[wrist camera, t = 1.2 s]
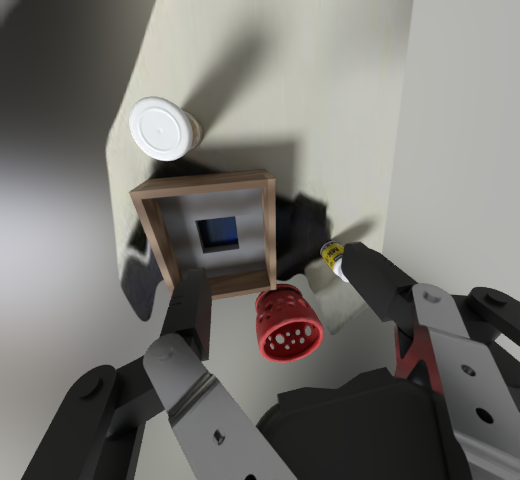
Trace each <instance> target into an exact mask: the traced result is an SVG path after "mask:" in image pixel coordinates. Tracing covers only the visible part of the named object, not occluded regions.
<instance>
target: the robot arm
mask: <svg viewBox="0 0 520 480" xmlns="http://www.w3.org/2000/svg"><path fill="white" fill-rule="evenodd" d="M341 270H342V273H343V275H344V276H345V277H346V278H347V280H348V281H349V282H350V283H351V284H352V286H353V287H354V288H355V289H356V290H357V292H358V293H359V294H360V295H361V296H362V298H363V299H364V300H365V301H366V303H367V304H368V305H369V306H370V307H371V309H372V310H373V311H374V312H375V313H376V315H377V316H378V317H379V318H380V319H381V321H382V322H386V321H391V320H393V321H394V322H395V326H394V336H395V347H396V361H397V365H396V371H395V376H392V375H391V374H390V372H389V371H388V369H387V368H386V367H384V368H380V369H376V370H372V371H368V372H364V373H360V374H359V375H358V376H356V377H355V378H353V379H352V380H350V381H349V382H347V383H346V384H345V385H343V386H342V387H340V388H338V389H324V388H310V387H305V388H300V389H296V390H292V391H288V392H284V393H280V394H277V398H278V403H277V404H275V405H274V406H273V407H271V408H270V409H269V410H268V411H267V412H266V413H265V414H264V415H263V416H262V417H261V419H260V420H259V422H258V423H257V425H256V426H255V425H254V424H253V423H252V421H251V420H250V419H249V418H248V416H247V415H246V414H245V413H244V411H243V410H242V409H241V407H240V406H239V405H238V404H237V403H236V401H235V400H234V399H233V398H232V396H231V395H230V394H229V393H228V391H227V390H226V389H225V387H224V386H223V385H222V384H221V382H220V381H219V380H218V379H217V378H216V376H215V375H213V374H211V373H210V372H209V371H208V370H207V369H206V367H205V366H204V365H203V364H202V362H201V361H205V360H209V359H208V358H209V342H210V324H211V306H212V293H211V288H210V284H209V281H208V277H207V274H206V271H205V268H204V267H202V268H196V269H190V270H189V272H188V276H187V280H183V281H180V282H179V283H178V284H177V286H176V287H175V288H174V290H173V293H172V297H171V300H170V303H169V307H168V310H167V314H166V317H165V320H164V324H163V327H162V331H161V334H160V337H159V338H158V339H157V340H155V341H154V342H153V343H152V344H151V345H150V346H149V348H148V349H147V351H146V353H145V355H143V356H142V357H140V358H138V359H137V360H135V361H133V362H131V363H129V364H127V365H125V366H123V367H121V368H119V369H117V370H115V368H114V367H113V366H111V365H101V366H98V367H96V368H93V369H92V370H90V371H88V372H87V373H85V374H84V375H83V376H81V377H80V378H79V379H78V380H77V381H76V382H75V383H74V384H73V386H72V387H71V388H70V389H69V391H68V392H67V394H66V396H65V398H64V400H63V402H62V403H61V405H60V407H59V409H58V411H57V413H56V415H55V416H54V419H53V420H52V422H51V424H50V426H49V428H48V430H47V432H46V433H45V435H44V437H43V439H42V441H41V443H40V445H39V446H38V448H37V450H36V452H35V454H34V456H33V458H32V460H31V462H30V463H29V465H28V467H27V469H26V471H25V473H24V475H23V477H22V479H21V480H134V476H135V472H136V467H137V462H138V457H139V452H140V447H141V443H142V438H143V433H144V429H145V424H146V421H148V420H149V419H151V418H152V417H154V416H155V415H157V414H158V413H160V412H162V411H163V410H166V412H167V414H168V416H169V419H168V420H169V423H170V425H171V428H172V430H173V432H174V434H175V436H176V438H177V440H178V442H179V444H180V446H181V448H182V451H183V453H184V454H185V457H186V459H187V460H188V463H189V465H190V467H191V469H192V471H193V473H194V475H195V477H196V479H197V480H520V414H519V413H520V362H519V361H518V360H517V359H515V358H514V357H513V356H512V355H510V354H509V353H508V352H507V351H506V350H504V349H503V348H502V347H501V346H499V345H498V344H497V343H496V342H495V341H494V340H495V339H496V338H497V337H498V336H499V335H500V334H501V333H503V334H504V335H505V336H507V337H508V338H509V339H511V340H512V341H513V342H514V343H516V344H517V345H518V346H520V302H519V301H517V300H515V299H513V298H512V297H510V296H509V295H507V294H505V293H503V292H500V291H498V290H495V289H491V288H487V287H475V288H473V289H472V290H471V292H470V293H469V294H468V296H462V295H450V294H449V293H447V292H446V291H444V290H443V289H441V288H439V287H436V286H434V285H430V284H424V283H417V282H416V281H415V280H413V279H412V278H411V277H410V276H408V275H407V274H406V273H404V272H403V271H402V270H401V269H399V268H398V267H397V266H396V265H394V264H393V263H392V262H391V261H389V260H387V258H386V257H384V256H383V255H382V254H381V253H379V252H377V251H374V250H372V249H369V248H368V247H367V246H365V245H364V244H363V243H362V242H354V243H348V244H346V245H345V246H344V251H343V256H342V262H341Z"/></svg>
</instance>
